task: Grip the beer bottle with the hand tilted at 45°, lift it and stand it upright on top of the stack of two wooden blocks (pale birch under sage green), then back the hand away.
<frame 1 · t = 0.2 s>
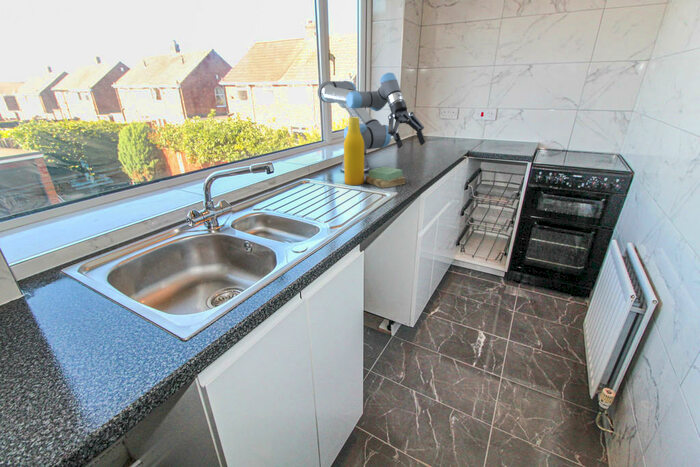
hand: (412, 145, 154), 16 cm above the worktop, tool tilted 35°, fingers open, 13 cm apart
top block: (385, 176, 152), point 3 cm above the worktop, touching base block
base block: (385, 182, 153), on the worktop, touching top block
beer bottle: (354, 183, 154), on the worktop
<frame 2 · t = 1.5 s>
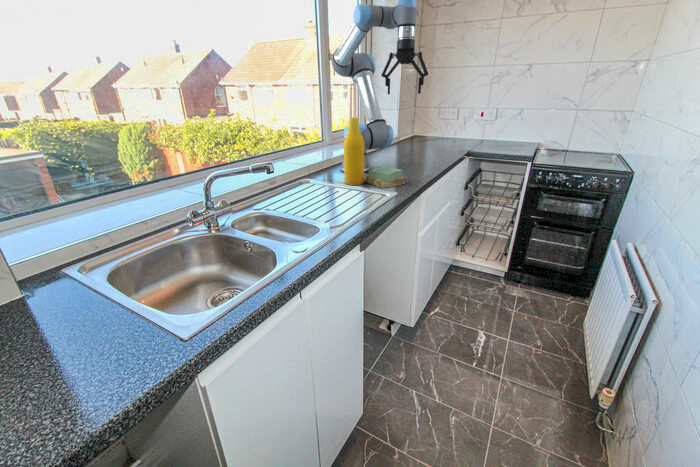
hand: (403, 94, 147), 38 cm above the worktop, tool pointing down, fingers open, 13 cm apart
nothing on the worktop moved.
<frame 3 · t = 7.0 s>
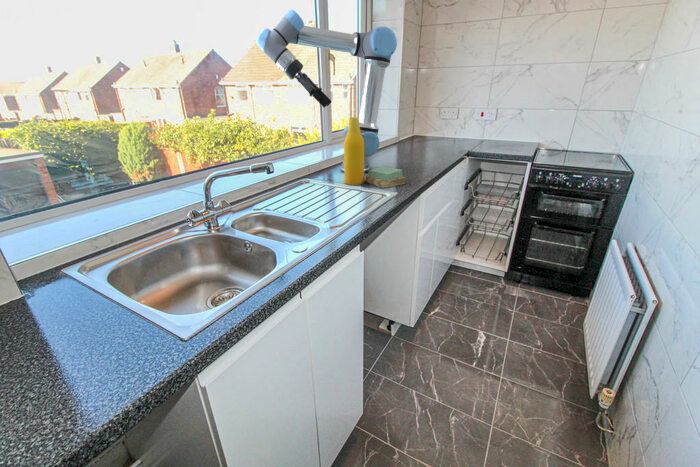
hand: (328, 104, 140), 34 cm above the worktop, tool tilted 45°, fingers open, 13 cm apart
nothing on the worktop moved.
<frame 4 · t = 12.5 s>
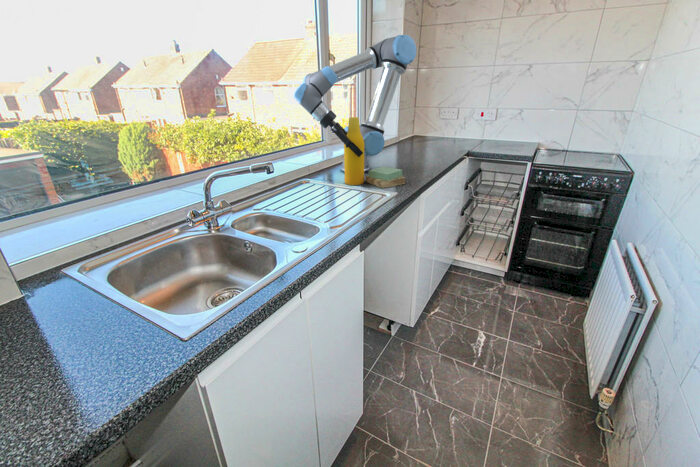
hand: (361, 153, 148), 14 cm above the worktop, tool tilted 45°, fingers closed on beer bottle, 9 cm apart
beer bottle: (354, 183, 154), on the worktop, touching gripper
everything else where it was.
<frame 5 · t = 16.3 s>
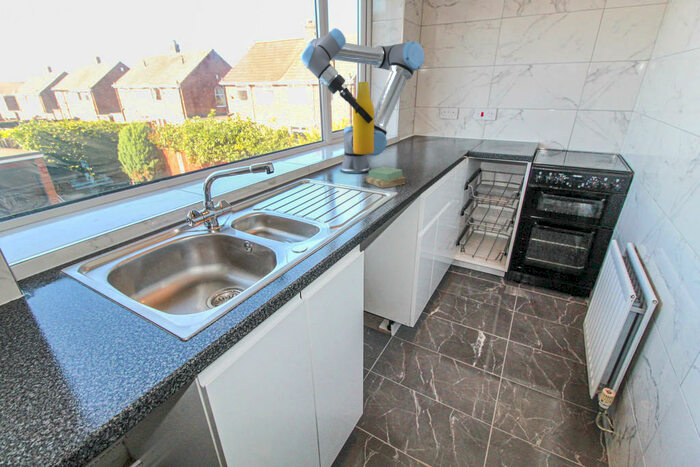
hand: (370, 120, 142), 28 cm above the worktop, tool tilted 45°, fingers closed on beer bottle, 9 cm apart
beer bottle: (363, 153, 148), point 14 cm above the worktop, touching gripper
everything else where it was.
when the fingers open (20 cm above the worktop, at t = 20.6 s): beer bottle stays where it is, resting on top block.
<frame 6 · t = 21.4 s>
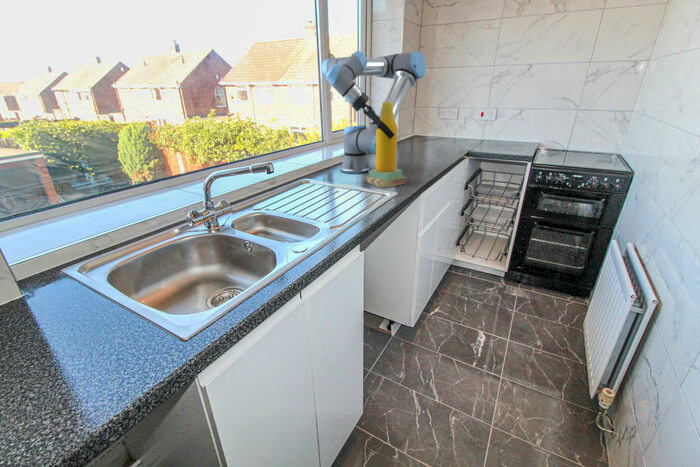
hand: (391, 134, 145), 22 cm above the worktop, tool tilted 45°, fingers open, 13 cm apart
top block: (385, 176, 152), point 3 cm above the worktop, touching base block, beer bottle
beer bottle: (385, 170, 151), point 6 cm above the worktop, touching top block
everything else where it was.
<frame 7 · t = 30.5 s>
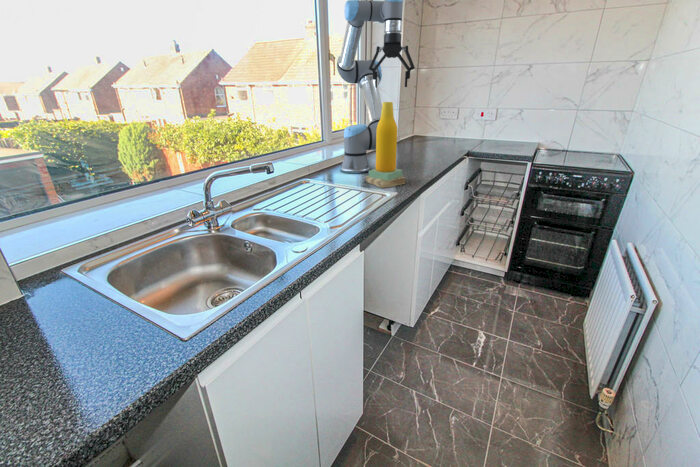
hand: (390, 87, 150), 41 cm above the worktop, tool pointing down, fingers open, 13 cm apart
nothing on the worktop moved.
at the end: beer bottle 0.0 cm off-centre on the top block, point 2.8 cm above the top block's base; beer bottle tilted 0°; the gripper is holding nothing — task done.
